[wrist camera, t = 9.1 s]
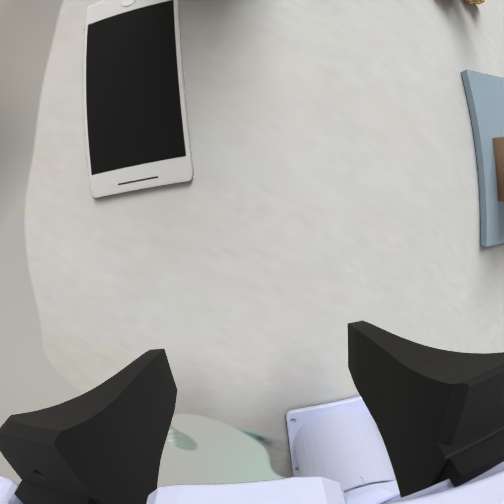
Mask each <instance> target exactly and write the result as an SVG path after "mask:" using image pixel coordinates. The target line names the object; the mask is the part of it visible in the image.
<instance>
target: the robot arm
mask: <svg viewBox="0 0 504 504" xmlns="http://www.w3.org/2000/svg"><path fill="white" fill-rule="evenodd" d="M348 367H349V370H350V373H351V376H352V379H353V381H354V384H355V386H356V388H357V390H358V392H359V394H360V396H358V397H354V398H350V399H345V400H341V401H336V402H332V403H327V404H322V405H316V406H311V407H305V408H300V409H293V410H289V411H288V412H287V413H286V420H287V428H288V436H289V444H290V453H291V461H292V469H293V475H294V476H295V477H289V478H282V479H274V480H266V481H255V482H243V483H227V484H180V485H171V486H163V487H159V488H157V481H158V473H159V466H160V459H161V455H162V451H163V447H164V444H165V441H166V437H167V434H168V431H169V427H170V424H171V420H172V417H173V413H174V410H175V403H176V395H177V388H176V385H175V382H174V379H173V376H172V372H171V369H170V366H169V363H168V360H167V356H166V353H165V350H164V349H156V350H149V351H147V352H146V353H144V354H143V355H141V356H140V357H139V358H137V359H136V360H135V361H133V362H132V363H131V364H129V365H128V366H127V367H125V368H124V369H123V370H121V371H120V372H118V373H117V374H116V375H114V376H113V377H111V378H110V379H108V380H107V381H105V382H104V383H102V384H101V385H99V386H97V387H96V388H94V389H92V390H90V391H88V392H86V393H85V394H83V395H81V396H78V397H76V398H74V399H71V400H69V401H66V402H64V403H61V404H59V405H56V406H52V407H50V408H46V409H42V410H38V411H34V412H28V413H22V414H16V415H11V416H10V417H9V418H8V419H7V420H6V422H5V423H4V424H3V425H2V426H1V428H0V451H1V452H2V454H3V456H4V457H5V458H6V460H7V461H8V462H9V464H10V465H11V466H12V468H13V469H14V470H15V471H16V473H17V474H18V475H19V476H20V478H21V479H23V480H22V481H21V483H20V484H19V485H18V484H16V483H15V482H14V481H12V480H10V479H7V478H5V477H2V476H0V504H504V352H503V353H490V354H476V353H460V352H453V351H446V350H441V349H436V348H432V347H428V346H424V345H421V344H418V343H415V342H412V341H409V340H407V339H404V338H401V337H399V336H397V335H394V334H392V333H390V332H387V331H385V330H383V329H381V328H379V327H377V326H374V325H372V324H370V323H368V322H365V321H359V322H354V323H349V324H348ZM291 419H294V420H291ZM377 427H378V429H379V431H380V433H379V431H378V429H377ZM380 434H381V435H380ZM381 436H382V437H381Z"/></svg>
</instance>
